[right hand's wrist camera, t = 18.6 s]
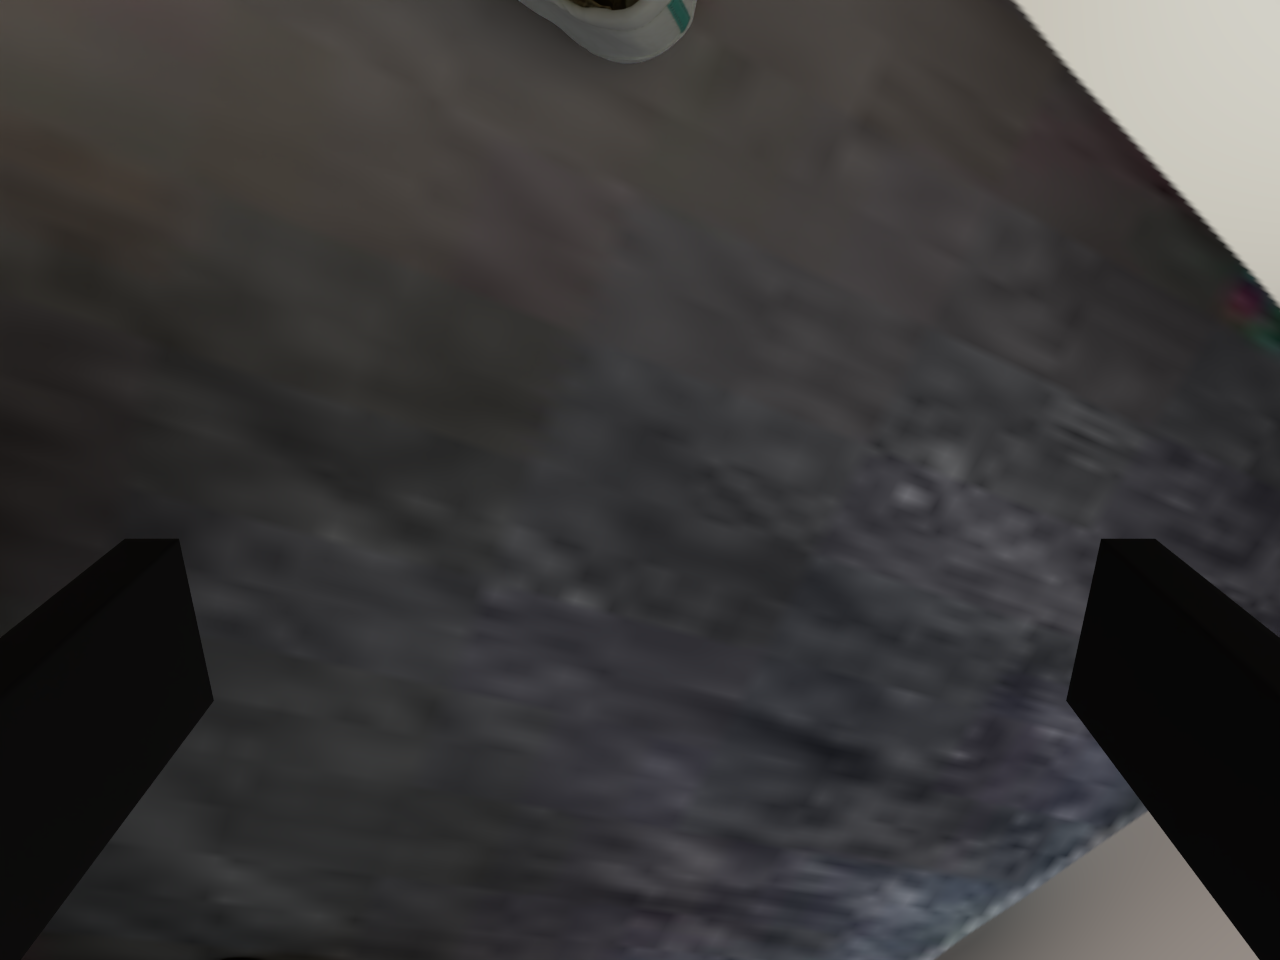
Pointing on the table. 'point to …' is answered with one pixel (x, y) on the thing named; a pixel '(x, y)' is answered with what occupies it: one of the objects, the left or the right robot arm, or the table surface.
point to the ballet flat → (619, 25)
